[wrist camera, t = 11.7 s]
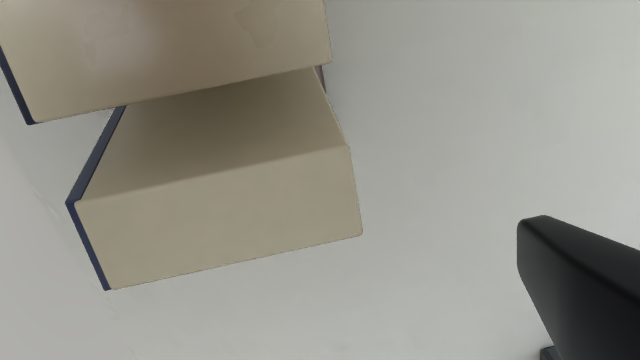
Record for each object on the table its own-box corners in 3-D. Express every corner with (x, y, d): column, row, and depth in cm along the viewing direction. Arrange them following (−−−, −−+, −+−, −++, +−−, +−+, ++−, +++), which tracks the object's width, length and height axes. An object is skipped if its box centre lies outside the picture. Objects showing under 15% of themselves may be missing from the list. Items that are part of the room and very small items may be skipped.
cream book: (154, 134, 18) (103, 295, 11) (133, 73, 17) (62, 205, 10) (313, 101, 18) (364, 237, 11) (302, 38, 17) (349, 144, 10)
